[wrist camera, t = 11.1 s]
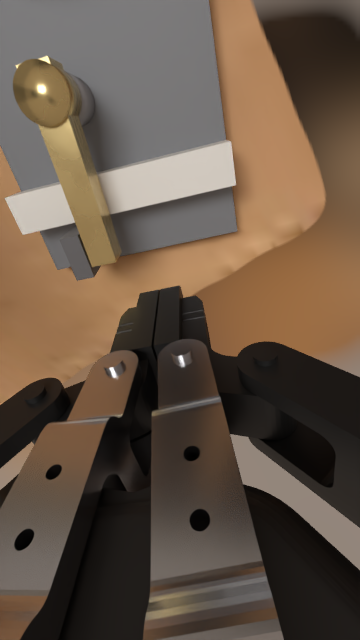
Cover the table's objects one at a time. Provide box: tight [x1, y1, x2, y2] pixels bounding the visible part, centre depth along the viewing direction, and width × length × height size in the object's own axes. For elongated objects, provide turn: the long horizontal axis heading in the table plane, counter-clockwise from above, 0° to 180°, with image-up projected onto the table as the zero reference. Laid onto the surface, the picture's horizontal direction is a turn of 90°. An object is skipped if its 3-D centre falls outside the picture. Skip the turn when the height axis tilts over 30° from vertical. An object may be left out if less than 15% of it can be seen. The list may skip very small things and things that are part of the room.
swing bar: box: [13, 56, 122, 267], centre depth 22 cm, size 13×3×3 cm, turn 12°
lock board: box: [0, 0, 237, 280], centre depth 23 cm, size 18×20×8 cm
